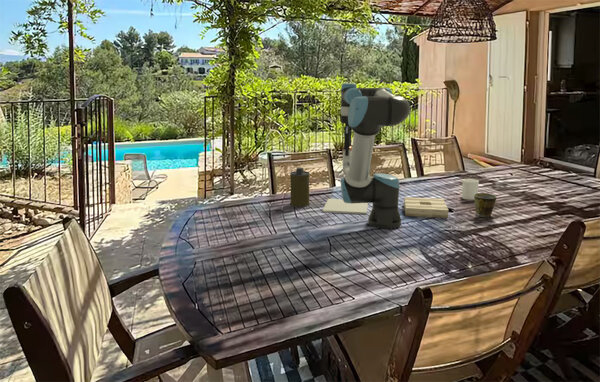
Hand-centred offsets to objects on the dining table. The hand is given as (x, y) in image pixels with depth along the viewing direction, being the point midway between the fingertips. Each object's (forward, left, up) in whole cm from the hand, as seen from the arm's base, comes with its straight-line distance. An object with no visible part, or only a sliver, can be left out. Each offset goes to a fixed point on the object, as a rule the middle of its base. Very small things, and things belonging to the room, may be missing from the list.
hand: (347, 160), depth 227 cm
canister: (+1, +25, -25) cm, 35 cm away
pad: (0, 0, -25) cm, 25 cm away
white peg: (0, 0, -6) cm, 6 cm away
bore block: (0, -40, -25) cm, 47 cm away
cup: (+31, -66, -25) cm, 77 cm away
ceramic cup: (-4, -67, -25) cm, 71 cm away
